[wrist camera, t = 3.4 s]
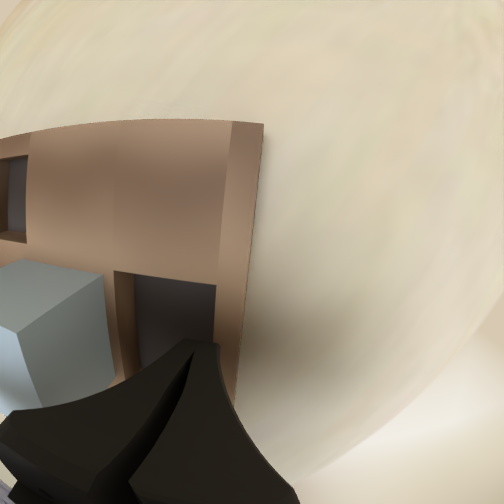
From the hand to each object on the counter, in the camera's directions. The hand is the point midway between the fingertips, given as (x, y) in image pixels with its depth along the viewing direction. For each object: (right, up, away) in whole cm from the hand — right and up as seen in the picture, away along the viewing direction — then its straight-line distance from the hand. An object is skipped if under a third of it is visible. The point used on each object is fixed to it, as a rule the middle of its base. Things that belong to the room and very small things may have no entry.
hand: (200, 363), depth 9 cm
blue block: (-7, +1, +1) cm, 7 cm away
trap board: (-8, +1, +3) cm, 8 cm away
